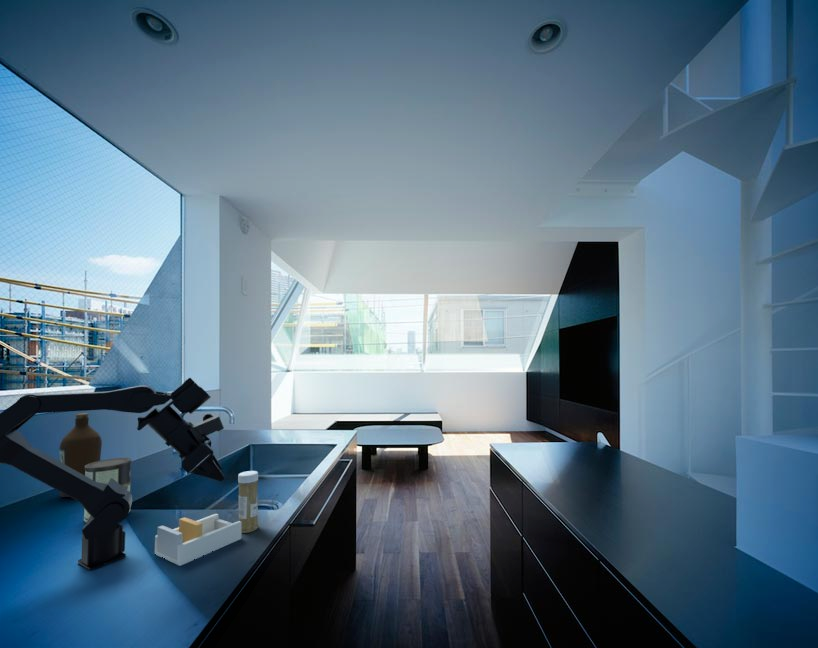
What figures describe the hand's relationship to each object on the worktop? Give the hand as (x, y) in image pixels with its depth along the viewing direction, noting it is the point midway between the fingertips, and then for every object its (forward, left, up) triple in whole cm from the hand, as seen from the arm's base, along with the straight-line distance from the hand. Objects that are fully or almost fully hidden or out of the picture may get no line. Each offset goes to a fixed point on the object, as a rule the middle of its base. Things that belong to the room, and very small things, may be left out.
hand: (222, 474), depth 98 cm
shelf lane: (-6, -1, -14) cm, 15 cm away
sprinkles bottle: (+5, -3, -14) cm, 15 cm away
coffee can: (-8, +39, -14) cm, 43 cm away
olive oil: (-4, +70, -14) cm, 72 cm away
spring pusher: (-8, -1, -13) cm, 15 cm away
